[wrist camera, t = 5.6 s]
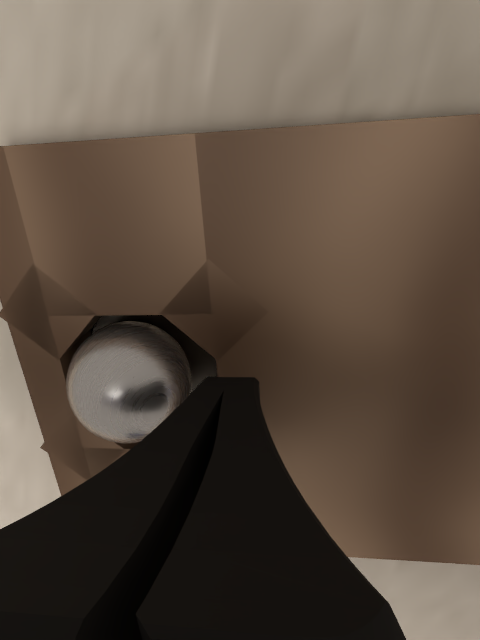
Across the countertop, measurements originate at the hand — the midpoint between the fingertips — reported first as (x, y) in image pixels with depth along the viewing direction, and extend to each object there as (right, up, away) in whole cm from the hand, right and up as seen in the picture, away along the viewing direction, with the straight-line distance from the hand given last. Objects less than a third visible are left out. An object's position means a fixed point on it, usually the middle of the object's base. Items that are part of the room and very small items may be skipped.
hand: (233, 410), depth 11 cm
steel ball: (-3, +1, +1) cm, 3 cm away
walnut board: (+4, +1, +2) cm, 4 cm away
